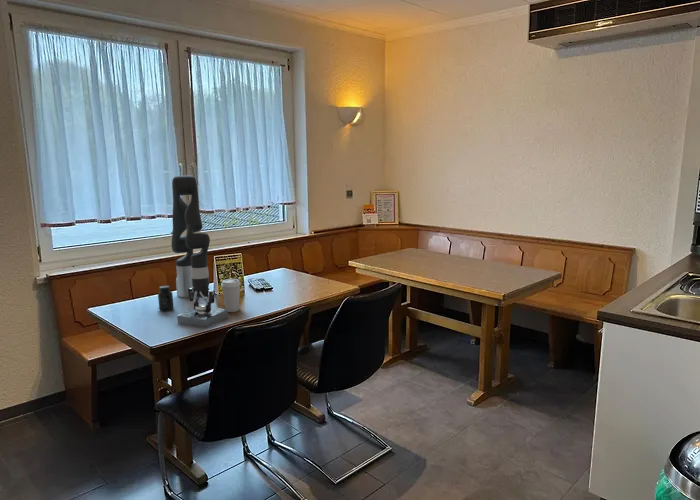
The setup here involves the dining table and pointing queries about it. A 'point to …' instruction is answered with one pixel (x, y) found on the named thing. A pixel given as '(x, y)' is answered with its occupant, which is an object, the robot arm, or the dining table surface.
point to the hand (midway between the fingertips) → (202, 311)
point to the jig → (202, 317)
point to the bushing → (201, 308)
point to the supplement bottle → (165, 299)
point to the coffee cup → (231, 294)
